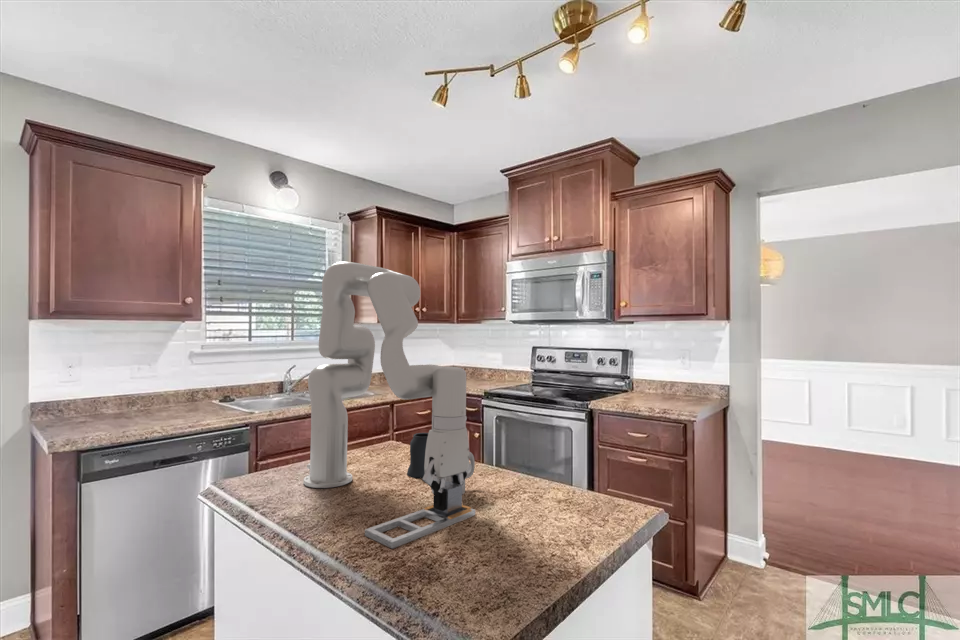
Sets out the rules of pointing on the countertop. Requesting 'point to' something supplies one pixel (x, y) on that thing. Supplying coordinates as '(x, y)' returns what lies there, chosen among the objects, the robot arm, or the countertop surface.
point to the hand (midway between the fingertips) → (447, 505)
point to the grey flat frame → (415, 526)
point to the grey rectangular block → (451, 499)
